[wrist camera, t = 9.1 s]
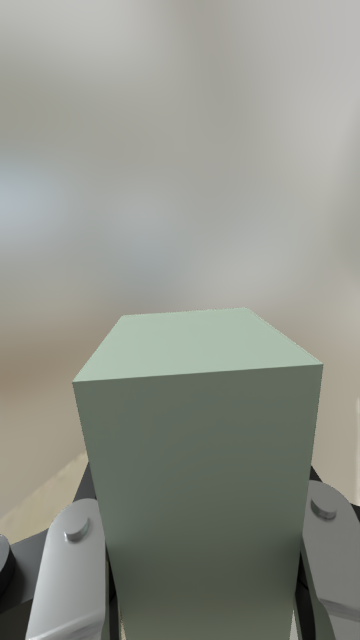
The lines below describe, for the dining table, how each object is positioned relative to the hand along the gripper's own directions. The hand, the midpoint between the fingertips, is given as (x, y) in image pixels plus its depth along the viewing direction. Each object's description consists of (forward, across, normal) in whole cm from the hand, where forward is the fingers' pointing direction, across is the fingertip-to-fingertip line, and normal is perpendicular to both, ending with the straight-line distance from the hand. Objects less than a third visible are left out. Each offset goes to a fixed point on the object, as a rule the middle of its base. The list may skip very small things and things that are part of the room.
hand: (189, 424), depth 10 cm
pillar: (-3, 0, +7) cm, 8 cm away
